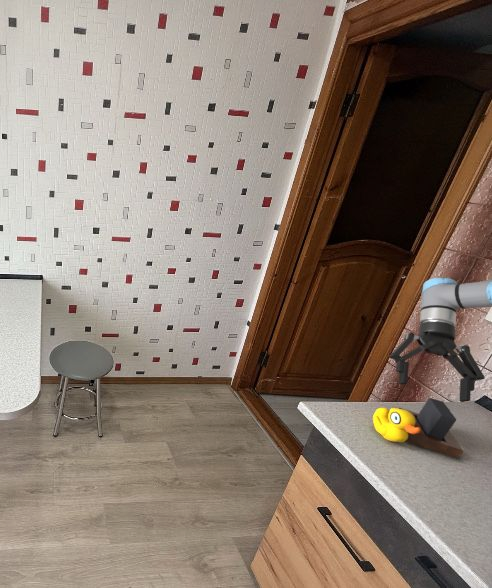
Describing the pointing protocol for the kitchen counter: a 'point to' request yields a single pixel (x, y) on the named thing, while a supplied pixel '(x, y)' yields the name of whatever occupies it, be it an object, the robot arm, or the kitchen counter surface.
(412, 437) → the seat base
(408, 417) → the duckling
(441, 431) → the dark grey rectangular block
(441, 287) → the robot arm
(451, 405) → the kitchen counter surface
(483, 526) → the kitchen counter surface
